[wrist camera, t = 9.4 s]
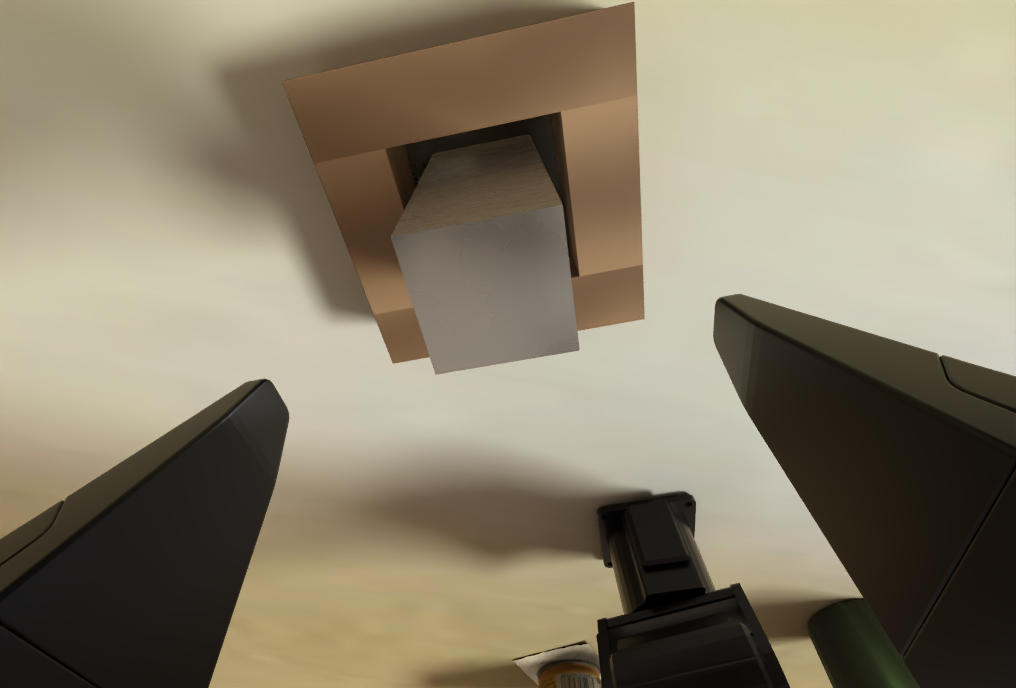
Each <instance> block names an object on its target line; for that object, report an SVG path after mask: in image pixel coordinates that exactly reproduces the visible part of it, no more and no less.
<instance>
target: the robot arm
mask: <svg viewBox="0 0 1016 688" xmlns="http://www.w3.org/2000/svg"><path fill="white" fill-rule="evenodd" d="M713 337H714V343H715V346H716V348H717V351H718V353H719V355H720V357H721V359H722V361H723V363H724V366H725V368H726V370H727V372H728V374H729V376H730V379H731V381H732V383H733V385H734V387H735V389H736V391H737V394H738V396H739V398H740V400H741V402H742V404H743V406H744V408H745V410H746V411H747V413H748V415H749V416H750V418H751V420H752V421H753V423H754V424H755V426H756V428H757V429H758V431H759V432H760V434H761V436H762V437H763V439H764V440H765V442H766V443H767V445H768V447H769V448H770V450H771V451H772V453H773V455H774V456H775V458H776V459H777V461H778V463H779V464H780V466H781V467H782V469H783V470H784V472H785V474H786V475H787V477H788V478H789V480H790V482H791V483H792V485H793V486H794V488H795V490H796V491H797V493H798V494H799V496H800V497H801V499H802V501H803V502H804V504H805V505H806V507H807V509H808V510H809V512H810V513H811V515H812V517H813V518H814V520H815V521H816V523H817V524H818V526H819V528H820V529H821V531H822V532H823V534H824V536H825V537H826V539H827V540H828V542H829V544H830V545H831V547H832V548H833V550H834V551H835V553H836V555H837V556H838V558H839V559H840V561H841V563H842V564H843V566H844V567H845V569H846V571H847V572H848V574H849V575H850V577H851V578H852V580H853V582H854V583H855V585H856V586H857V588H858V590H859V591H860V593H861V594H862V596H863V598H864V599H865V601H866V602H867V604H868V605H869V607H870V609H871V610H872V612H873V613H874V615H875V617H876V618H877V620H878V621H879V623H880V625H881V626H882V628H883V629H884V631H885V632H886V634H887V636H888V637H889V639H890V640H891V642H892V644H893V645H894V647H895V648H896V650H897V652H898V653H899V655H900V656H902V657H903V662H904V663H905V665H906V667H907V668H908V670H909V671H910V673H911V674H912V676H913V678H914V679H915V681H916V682H917V684H918V686H919V687H920V688H1016V376H1012V375H1009V374H1005V373H1002V372H999V371H995V370H992V369H988V368H985V367H981V366H978V365H974V364H971V363H967V362H964V361H961V360H958V359H954V358H951V357H948V356H944V355H943V356H940V357H939V355H938V354H937V353H934V352H931V351H928V350H924V349H921V348H918V347H914V346H911V345H908V344H904V343H901V342H898V341H894V340H891V339H888V338H884V337H881V336H878V335H874V334H871V333H868V332H865V331H861V330H858V329H855V328H851V327H848V326H845V325H841V324H838V323H835V322H831V321H828V320H825V319H821V318H818V317H815V316H812V315H808V314H805V313H802V312H798V311H795V310H792V309H788V308H785V307H782V306H778V305H775V304H772V303H768V302H765V301H762V300H759V299H755V298H752V297H749V296H745V295H742V294H735V295H730V296H724V297H720V298H719V299H718V300H717V301H716V304H715V316H714V331H713ZM288 423H289V412H288V409H287V407H286V405H285V403H284V402H283V400H282V398H281V396H280V395H279V393H278V391H277V390H276V388H275V386H274V385H273V383H272V382H271V381H270V380H267V379H260V380H254V381H249V382H246V383H244V384H243V385H241V386H240V387H238V388H236V389H235V390H233V391H232V392H230V393H229V394H227V395H225V396H224V397H222V398H221V399H219V400H218V401H216V402H215V403H213V404H211V405H210V406H208V407H207V408H205V409H204V410H202V411H200V412H199V413H197V414H196V415H194V416H193V417H191V418H190V419H188V420H186V421H185V422H183V423H182V424H180V425H179V426H177V427H176V428H174V429H172V430H171V431H169V432H168V433H166V434H165V435H163V436H161V437H160V438H158V439H157V440H155V441H154V442H152V443H151V444H149V445H147V446H146V447H144V448H143V449H141V450H140V451H138V452H136V453H135V454H133V455H132V456H130V457H129V458H127V459H126V460H124V461H122V462H121V463H119V464H118V465H116V466H115V467H113V468H111V469H110V470H108V471H107V472H105V473H104V474H102V475H101V476H99V477H97V478H96V479H94V480H93V481H91V482H90V483H88V484H87V485H85V486H83V487H82V488H80V489H79V490H77V491H76V492H74V493H72V494H71V495H69V496H68V497H67V498H66V499H65V501H60V502H58V503H57V504H55V505H54V506H52V507H50V508H49V509H47V510H46V511H44V512H43V513H41V514H40V515H38V516H36V517H35V518H33V519H32V520H30V521H28V522H27V523H25V524H24V525H22V526H20V527H19V528H17V529H16V530H14V531H12V532H11V533H9V534H8V535H6V536H5V537H3V538H1V539H0V688H208V687H209V684H210V681H211V678H212V675H213V672H214V669H215V666H216V663H217V660H218V657H219V654H220V651H221V648H222V645H223V642H224V639H225V636H226V633H227V630H228V627H229V624H230V621H231V618H232V615H233V612H234V609H235V606H236V602H237V599H238V596H239V593H240V590H241V587H242V584H243V581H244V578H245V575H246V572H247V569H248V566H249V563H250V560H251V557H252V554H253V551H254V548H255V545H256V542H257V539H258V536H259V533H260V530H261V527H262V524H263V521H264V518H265V515H266V512H267V509H268V506H269V502H270V499H271V496H272V493H273V490H274V486H275V483H276V479H277V475H278V470H279V465H280V461H281V456H282V451H283V446H284V442H285V437H286V432H287V428H288ZM695 513H696V502H695V499H694V497H693V496H692V495H680V496H674V497H667V498H661V499H654V500H647V501H641V502H634V503H627V504H621V505H614V506H607V507H602V508H600V509H598V511H597V517H598V525H599V533H600V540H601V548H602V556H603V562H604V565H605V567H608V568H612V567H613V569H614V573H615V577H616V581H617V586H618V590H619V594H620V598H621V602H622V606H623V611H624V615H621V616H617V617H613V618H609V619H607V618H602V619H598V620H597V622H598V632H599V633H598V634H597V636H596V637H597V643H598V653H599V664H600V675H601V688H790V686H789V684H788V682H787V679H786V677H785V675H784V673H783V670H782V668H781V666H780V664H779V662H778V660H777V657H776V655H775V653H774V651H773V649H772V647H771V645H770V643H769V641H768V639H767V637H766V635H765V633H764V631H763V629H762V627H761V625H760V623H759V621H758V619H757V617H756V615H755V613H754V611H753V609H752V607H751V605H750V603H749V601H748V599H747V597H746V595H745V593H744V591H743V589H742V587H741V585H740V583H736V584H732V585H730V587H728V588H724V589H720V590H715V588H714V585H713V583H712V581H711V578H710V576H709V573H708V571H707V569H706V566H705V564H704V561H703V559H702V557H701V554H700V552H699V549H698V547H697V545H696V542H695V540H694V533H695Z"/></svg>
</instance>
